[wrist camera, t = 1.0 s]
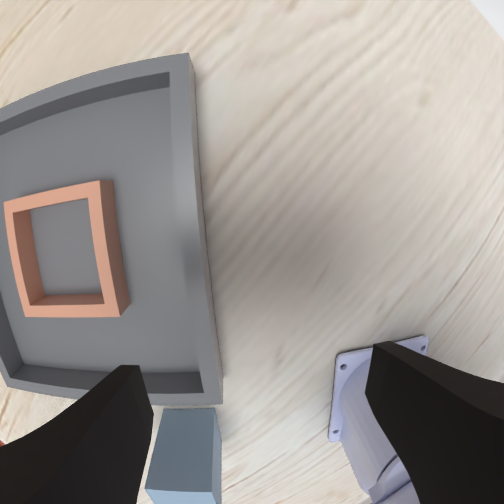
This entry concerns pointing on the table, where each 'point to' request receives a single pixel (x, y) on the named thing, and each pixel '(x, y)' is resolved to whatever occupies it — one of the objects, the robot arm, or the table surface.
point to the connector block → (186, 458)
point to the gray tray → (107, 236)
